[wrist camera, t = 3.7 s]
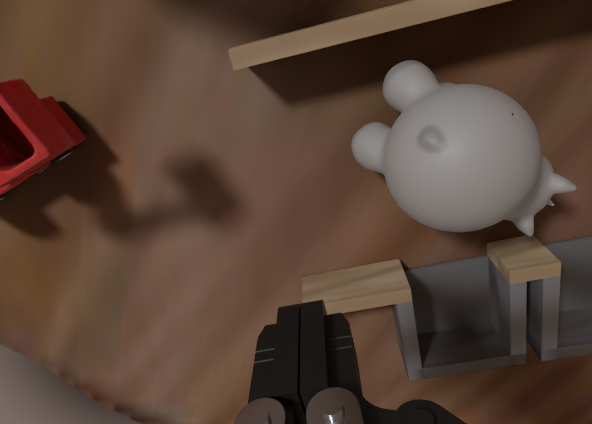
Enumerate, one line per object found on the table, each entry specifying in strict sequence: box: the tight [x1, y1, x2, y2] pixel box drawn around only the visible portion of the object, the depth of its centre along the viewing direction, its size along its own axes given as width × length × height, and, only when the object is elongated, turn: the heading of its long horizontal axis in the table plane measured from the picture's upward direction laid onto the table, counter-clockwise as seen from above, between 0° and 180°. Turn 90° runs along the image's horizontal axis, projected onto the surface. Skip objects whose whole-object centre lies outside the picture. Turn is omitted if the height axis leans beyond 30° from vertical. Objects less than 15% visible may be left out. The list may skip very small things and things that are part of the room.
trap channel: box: [228, 0, 592, 381], centre depth 24 cm, size 24×32×5 cm
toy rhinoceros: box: [351, 60, 577, 237], centre depth 22 cm, size 7×12×8 cm, turn 61°
